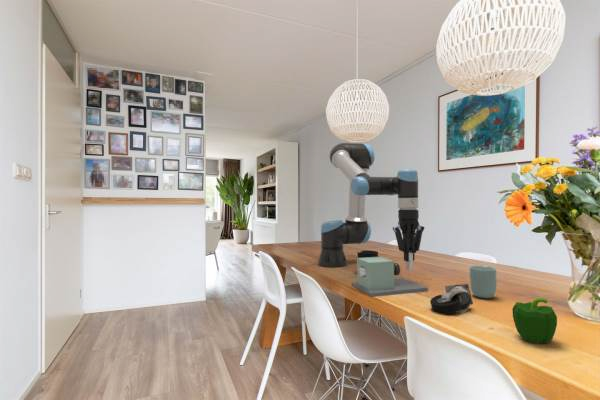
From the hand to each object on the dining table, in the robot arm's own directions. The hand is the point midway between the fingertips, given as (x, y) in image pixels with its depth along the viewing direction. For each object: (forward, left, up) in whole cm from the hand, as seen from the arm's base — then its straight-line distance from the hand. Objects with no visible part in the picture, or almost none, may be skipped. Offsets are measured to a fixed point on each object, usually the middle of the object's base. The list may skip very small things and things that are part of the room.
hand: (409, 269), depth 121 cm
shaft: (0, -13, -2) cm, 13 cm away
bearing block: (0, -9, -7) cm, 11 cm away
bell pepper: (+50, -1, -7) cm, 50 cm away
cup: (+20, +15, -7) cm, 26 cm away
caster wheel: (+28, -5, -7) cm, 29 cm away
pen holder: (-25, -5, -7) cm, 27 cm away
